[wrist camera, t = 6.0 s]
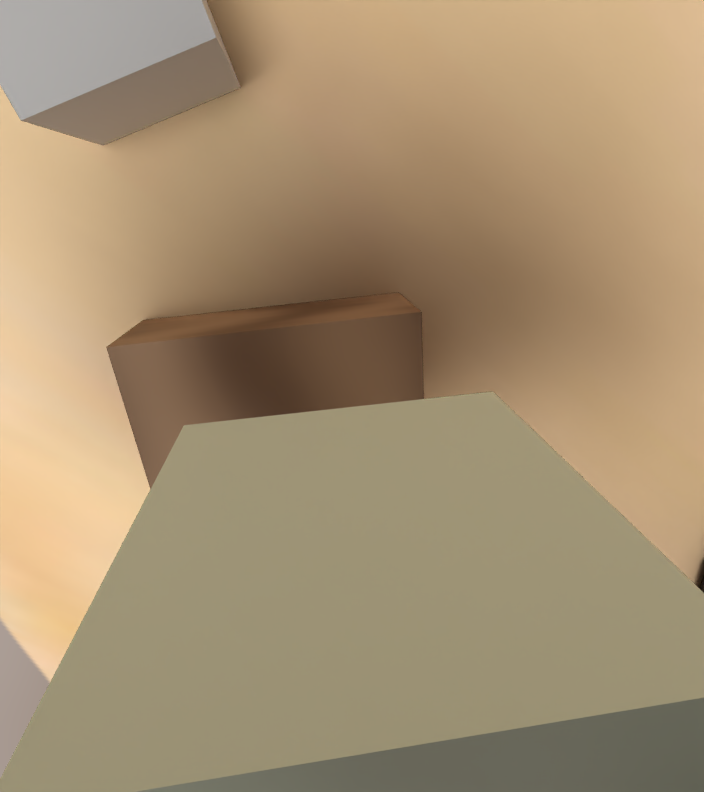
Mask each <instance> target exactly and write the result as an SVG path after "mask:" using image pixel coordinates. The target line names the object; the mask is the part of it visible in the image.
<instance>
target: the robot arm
mask: <svg viewBox="0 0 704 792" xmlns="http://www.w3.org/2000/svg"><path fill="white" fill-rule="evenodd" d="M700 590H701V591H702V592H703V593H704V577H703V581H702V584H701V588H700Z"/></svg>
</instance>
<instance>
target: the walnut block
mask: <svg viewBox="0 0 704 792" xmlns="http://www.w3.org/2000/svg"><path fill="white" fill-rule="evenodd" d="M107 351H108V354H109V357H110V360H111V363H112V367H113V370H114V373H115V376H116V380H117V383H118V386H119V389H120V392H121V396H122V399H123V402H124V405H125V409H126V412H127V415H128V418H129V421H130V425H131V428H132V431H133V434H134V437H135V441H136V444H137V447H138V450H139V454H140V457H141V460H142V463H143V466H144V470H145V473H146V476H147V479H148V482H149V486H150V489H151V488H152V486H153V484H154V482H155V480H156V478H157V476H158V474H159V472H160V470H161V468H162V466H163V465H164V463H165V461H166V459H167V457H168V455H169V453H170V451H171V449H172V447H173V445H174V443H175V441H176V440H177V438H178V436H179V434H180V432H181V430H182V428H183V426H184V425H191V424H200V423H210V422H219V421H228V420H237V419H246V418H255V417H264V416H273V415H282V414H292V413H301V412H310V411H319V410H328V409H337V408H346V407H355V406H364V405H374V404H383V403H392V402H401V401H410V400H419V399H424V387H423V351H422V314H421V311H420V310H419V309H418V308H416V307H415V306H414V305H413V304H412V303H411V302H409V301H408V300H407V299H406V298H405V297H404V296H402V295H401V294H400V293H399V292H398V293H389V294H380V295H370V296H361V297H352V298H343V299H334V300H324V301H315V302H306V303H297V304H288V305H278V306H269V307H260V308H251V309H242V310H232V311H223V312H214V313H205V314H196V315H186V316H177V317H168V318H159V319H149V320H143V321H141V322H140V323H139V324H137V325H136V326H135V327H133V328H132V329H130V330H129V331H128V332H126V333H125V334H124V335H122V336H121V337H120V338H118V339H117V340H116V341H114V342H113V343H111V344H110V345H109V346H107Z"/></svg>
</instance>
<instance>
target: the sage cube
mask: <svg viewBox="0 0 704 792" xmlns="http://www.w3.org/2000/svg"><path fill="white" fill-rule="evenodd" d="M0 792H704V593H703V592H702V591H701V590H700V589H699V588H698V587H697V586H696V585H695V584H694V583H693V582H692V581H691V580H690V579H689V578H688V577H687V576H686V575H685V574H684V573H682V572H681V571H680V570H679V569H678V568H677V567H676V566H675V565H674V564H673V563H672V562H671V561H670V560H669V559H668V558H667V557H666V556H665V555H664V554H663V553H662V552H660V551H659V550H658V549H657V548H656V547H655V546H654V545H653V544H652V543H651V542H650V541H649V540H648V539H647V538H646V537H645V536H644V535H643V534H642V533H641V532H640V531H638V530H637V529H636V528H635V527H634V526H633V525H632V524H631V523H630V522H629V521H628V520H627V519H626V518H625V517H624V516H623V515H622V514H621V513H620V512H619V511H618V510H616V509H615V508H614V507H613V506H612V505H611V504H610V503H609V502H608V501H607V500H606V499H605V498H604V497H603V496H602V495H601V494H600V493H599V492H598V491H597V490H596V489H595V488H593V487H592V486H591V485H590V484H589V483H588V482H587V481H586V480H585V479H584V478H583V477H582V476H581V475H580V474H579V473H578V472H577V471H576V470H575V469H574V468H573V467H571V466H570V465H569V464H568V463H567V462H566V461H565V460H564V459H563V458H562V457H561V456H560V455H559V454H558V453H557V452H556V451H555V450H554V449H553V448H552V447H551V446H549V445H548V444H547V443H546V442H545V441H544V440H543V439H542V438H541V437H540V436H539V435H538V434H537V433H536V432H535V431H534V430H533V429H532V428H531V427H530V426H529V425H527V424H526V423H525V422H524V421H523V420H522V419H521V418H520V417H519V416H518V415H517V414H516V413H515V412H514V411H513V410H512V409H511V408H510V407H509V406H508V405H507V404H505V403H504V402H503V401H502V400H501V399H500V398H499V397H498V396H497V395H496V394H495V393H494V392H493V391H492V392H483V393H474V394H465V395H456V396H447V397H437V398H428V399H419V400H410V401H401V402H392V403H383V404H374V405H364V406H355V407H346V408H337V409H328V410H319V411H310V412H301V413H292V414H282V415H273V416H264V417H255V418H246V419H237V420H228V421H219V422H210V423H200V424H191V425H184V426H183V428H182V430H181V432H180V434H179V436H178V438H177V440H176V441H175V443H174V445H173V447H172V449H171V451H170V453H169V455H168V457H167V459H166V461H165V463H164V465H163V466H162V468H161V470H160V472H159V474H158V476H157V478H156V480H155V482H154V484H153V486H152V488H151V490H150V491H149V493H148V495H147V497H146V499H145V501H144V503H143V505H142V507H141V509H140V511H139V513H138V515H137V516H136V518H135V520H134V522H133V524H132V526H131V528H130V530H129V532H128V534H127V536H126V538H125V540H124V541H123V543H122V545H121V547H120V549H119V551H118V553H117V555H116V557H115V559H114V561H113V563H112V565H111V566H110V568H109V570H108V572H107V574H106V576H105V578H104V580H103V582H102V584H101V586H100V588H99V590H98V591H97V593H96V595H95V597H94V599H93V601H92V603H91V605H90V607H89V609H88V611H87V613H86V615H85V617H84V618H83V620H82V622H81V624H80V626H79V628H78V630H77V632H76V634H75V636H74V638H73V640H72V642H71V643H70V645H69V647H68V649H67V651H66V653H65V655H64V657H63V659H62V661H61V663H60V665H59V667H58V668H57V670H56V672H55V674H54V676H53V678H52V680H51V682H50V684H49V686H48V688H47V690H46V692H45V694H44V695H43V697H42V699H41V701H40V703H39V705H38V707H37V709H36V711H35V713H34V715H33V717H32V718H31V720H30V723H29V724H28V726H27V728H26V730H25V732H24V734H23V736H22V738H21V740H20V742H19V744H18V745H17V747H16V749H15V751H14V753H13V755H12V757H11V759H10V761H9V763H8V765H7V767H6V768H5V770H4V772H3V774H2V777H1V778H0Z"/></svg>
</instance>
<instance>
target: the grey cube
mask: <svg viewBox="0 0 704 792" xmlns="http://www.w3.org/2000/svg"><path fill="white" fill-rule="evenodd" d="M0 85H1V87H2V89H3V90H4V92H5V94H6V96H7V97H8V99H9V101H10V103H11V104H12V106H13V108H14V109H15V111H16V113H17V115H18V116H19V118H20V120H21V121H24V122H28V123H31V124H34V125H37V126H41V127H44V128H47V129H50V130H54V131H57V132H60V133H64V134H67V135H70V136H73V137H77V138H80V139H83V140H86V141H90V142H93V143H96V144H99V145H106V144H108V143H110V142H113V141H115V140H117V139H120V138H122V137H125V136H127V135H129V134H132V133H134V132H137V131H139V130H141V129H144V128H146V127H148V126H151V125H153V124H156V123H158V122H160V121H163V120H165V119H168V118H170V117H172V116H175V115H177V114H179V113H182V112H184V111H187V110H189V109H191V108H194V107H196V106H199V105H201V104H203V103H206V102H208V101H211V100H213V99H215V98H218V97H220V96H222V95H225V94H227V93H230V92H232V91H234V90H237V89H239V88H241V87H240V84H239V81H238V79H237V76H236V74H235V71H234V69H233V66H232V64H231V61H230V59H229V56H228V54H227V51H226V49H225V46H224V43H223V41H222V38H221V36H220V33H219V31H218V28H217V26H216V23H215V21H214V18H213V16H212V13H211V10H210V8H209V5H208V3H207V0H0Z"/></svg>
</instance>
